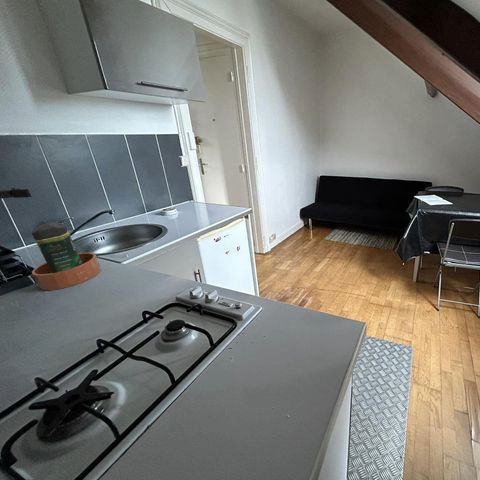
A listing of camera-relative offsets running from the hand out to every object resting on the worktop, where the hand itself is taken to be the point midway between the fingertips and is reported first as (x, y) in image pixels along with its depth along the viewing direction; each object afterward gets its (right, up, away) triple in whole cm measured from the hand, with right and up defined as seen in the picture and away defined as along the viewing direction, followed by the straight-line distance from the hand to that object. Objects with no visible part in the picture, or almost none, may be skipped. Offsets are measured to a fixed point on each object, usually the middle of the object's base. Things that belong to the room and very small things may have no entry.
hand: (4, 197), depth 84 cm
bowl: (+17, -27, +5) cm, 32 cm away
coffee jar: (+17, -26, +5) cm, 31 cm away
